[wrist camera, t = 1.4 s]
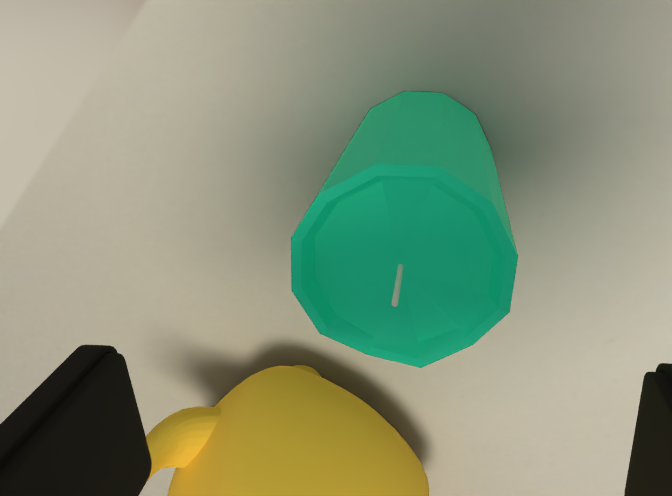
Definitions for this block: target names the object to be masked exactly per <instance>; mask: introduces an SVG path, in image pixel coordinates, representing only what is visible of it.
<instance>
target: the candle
mask: <svg viewBox="0 0 672 496" xmlns="http://www.w3.org/2000/svg"><path fill="white" fill-rule="evenodd" d="M517 259H518V254H517V250H516V246H515V243H514V239H513V235H512V231H511V227H510V223H509V219H508V215H507V211H506V207H505V203H504V199H503V195H502V191H501V187H500V183H499V179H498V175H497V171H496V167H495V163H494V159H493V155H492V151H491V147H490V145H489V143H488V141H487V139H486V136H485V134H484V132H483V130H482V128H481V126H480V123H479V121H478V119H477V117H476V115H475V114H474V113H473V112H471V111H470V110H468V109H467V108H465V107H464V106H462V105H461V104H459V103H458V102H456V101H455V100H453V99H452V98H450V97H449V96H447V95H446V94H444V93H436V92H414V91H403V92H402V93H400V94H398V95H396V96H394V97H392V98H390V99H388V100H386V101H384V102H382V103H381V104H379V105H377V106H375V107H373V108H371V109H370V110H369V112H368V113H367V115H366V117H365V118H364V120H363V121H362V123H361V125H360V126H359V128H358V129H357V131H356V133H355V134H354V136H353V137H352V139H351V141H350V142H349V144H348V146H347V147H346V149H345V150H344V152H343V154H342V155H341V157H340V159H339V160H338V162H337V164H336V165H335V167H334V169H333V170H332V172H331V173H330V175H329V177H328V178H327V180H326V182H325V183H324V185H323V187H322V188H321V190H320V192H319V193H318V195H317V196H316V198H315V200H314V201H313V203H312V205H311V206H310V208H309V210H308V211H307V213H306V215H305V216H304V218H303V219H302V221H301V223H300V224H299V226H298V228H297V229H296V231H295V233H294V234H293V236H292V238H291V273H292V292H293V293H294V295H295V296H296V298H297V300H298V301H299V303H300V304H301V306H302V307H303V309H304V310H305V312H306V313H307V315H308V316H309V318H310V319H311V321H312V322H313V324H314V325H315V327H316V328H317V330H318V331H319V333H320V334H322V335H324V336H327V337H329V338H331V339H333V340H336V341H338V342H340V343H342V344H345V345H347V346H349V347H351V348H354V349H356V350H358V351H361V352H363V353H365V354H367V355H371V356H375V357H379V358H383V359H387V360H391V361H395V362H399V363H403V364H408V365H412V366H416V367H420V368H422V367H424V366H426V365H428V364H431V363H433V362H435V361H437V360H440V359H442V358H444V357H446V356H449V355H451V354H453V353H455V352H458V351H460V350H462V349H464V348H467V347H469V346H471V345H473V344H474V343H475V342H476V341H477V340H479V339H480V338H481V337H482V336H483V335H484V334H485V333H486V332H488V331H489V330H490V329H491V328H492V327H493V326H494V325H495V324H497V323H498V322H499V321H500V320H501V319H502V318H503V317H504V316H506V315H507V314H508V313H509V312H510V306H511V299H512V292H513V286H514V279H515V273H516V266H517Z"/></svg>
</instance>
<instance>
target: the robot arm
mask: <svg viewBox="0 0 672 496" xmlns="http://www.w3.org/2000/svg"><path fill="white" fill-rule="evenodd" d="M151 468H152V460H151V455H150V452H149V448H148V444H147V440H146V437H145V433H144V429H143V425H142V422H141V418H140V414H139V410H138V407H137V403H136V399H135V395H134V392H133V388H132V384H131V380H130V377H129V373H128V369H127V365H126V362H125V359H124V357H123V356H122V354H119V353H117V350H116V349H115V348H114V347H112V346H105V345H82V346H80V347H78V348H77V349H76V350H75V351H74V352H73V353H72V354H71V355H70V356H69V357H68V358H67V359H66V360H65V361H64V362H63V363H62V364H61V365H60V366H59V367H58V368H57V369H56V370H55V371H54V372H53V373H52V374H51V375H50V376H49V377H48V378H47V379H46V380H45V381H44V382H43V383H42V384H41V385H40V386H39V387H38V388H37V389H36V390H35V391H34V392H33V393H32V394H31V395H30V396H29V397H28V398H27V399H26V400H25V401H23V402H22V403H21V404H20V405H19V406H18V407H17V408H16V409H15V410H14V411H13V412H12V413H11V414H10V415H9V416H8V417H7V418H6V419H5V420H4V421H3V422H2V423H1V424H0V496H138V495H139V494H140V492H141V490H142V489H143V487H144V485H145V484H146V482H147V480H148V478H149V476H150V473H151ZM624 496H672V364H665V363H661V364H659V365H658V367H657V369H656V372H647V373H646V374H645V376H644V380H643V386H642V392H641V398H640V404H639V410H638V416H637V422H636V428H635V434H634V440H633V446H632V452H631V458H630V464H629V470H628V475H627V481H626V487H625V495H624Z"/></svg>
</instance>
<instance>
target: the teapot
mask: <svg viewBox="0 0 672 496" xmlns="http://www.w3.org/2000/svg"><path fill="white" fill-rule="evenodd" d="M146 440H147V444H148V448H149V452H150V455H151V460H152V468H151V473H150V476H149V478H150V477H151V476H152V475H153V474H154V473H155V472H157V471H158V470H160V469H162V468H167V467H176V469H175V471H174V475H173V478H172V481H171V484H170V488H169V492H168V496H429V484H428V480H427V476H426V474H425V471H424V469H423V467H422V465H421V463H420V461H419V459H418V458H417V456H416V455H415V453H414V452H413V451H412V449H411V448H410V446H409V445H408V444H407V443H406V442H405V440H404V439H403V438H402V437H401V436H400V435H399V433H398V431H397V430H396V429H395V428H394V427H393V426H392V425H390V424H389V423H388V422H387V421H386V420H385V419H384V418H383V417H382V416H381V415H380V414H379V413H377V412H376V411H375V410H374V409H373V408H372V407H370V406H369V405H368V404H366V403H365V402H364V401H362V400H361V399H359V398H358V397H356V396H355V395H353V394H352V393H350V392H348V391H347V390H345V389H343V388H341V387H339V386H338V385H336V384H334V383H332V382H330V381H328V380H326V379H324V378H321V376H320V374H319V373H318V372H317V371H316V370H314V369H313V368H311V367H309V366H305V365H296V366H292V367H291V366H275V367H270V368H267V369H264V370H262V371H260V372H258V373H255V374H253V375H251V376H249V377H248V378H247V379H245V380H244V381H243V382H241V383H240V384H238V385H237V386H236V387H235V388H234V389H232V390H231V391H230V392H229V393H228V394H227V395H226V396H225V397H224V398H222V399H221V400H220V401H219V402H218V403H217V404H216V405H215V406H214V407H193V408H188V409H182V410H180V411H178V412H176V413H174V414H172V415H170V416H168V417H167V418H166V419H164V420H163V421H162V422H160V423H159V424H158V425H156V426H155V427H154V428H153V429H152V431H151V432H150V433H149V434H148V435H147V436H146ZM149 478H148V480H149ZM148 480H147V481H148Z"/></svg>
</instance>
